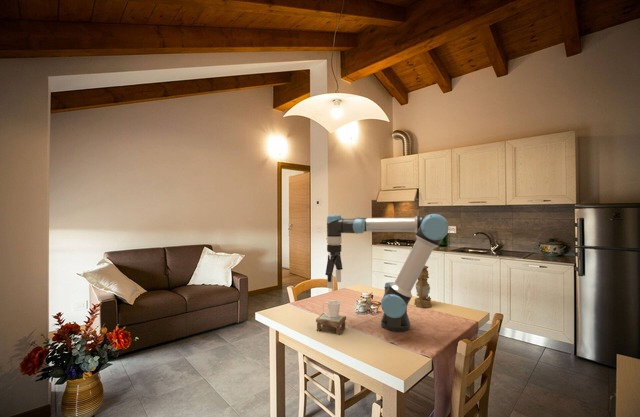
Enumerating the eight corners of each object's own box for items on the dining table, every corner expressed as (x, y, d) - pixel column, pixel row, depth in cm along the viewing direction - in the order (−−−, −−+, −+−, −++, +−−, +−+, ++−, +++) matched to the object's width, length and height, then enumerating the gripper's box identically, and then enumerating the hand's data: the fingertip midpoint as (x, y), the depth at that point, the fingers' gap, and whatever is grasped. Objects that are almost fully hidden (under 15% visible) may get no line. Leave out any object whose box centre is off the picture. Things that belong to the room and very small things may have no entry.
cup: (337, 321, 151) (337, 305, 151) (319, 317, 156) (319, 302, 156) (342, 316, 158) (342, 301, 158) (325, 313, 162) (325, 298, 162)
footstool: (346, 327, 159) (346, 316, 159) (340, 335, 149) (340, 323, 149) (323, 324, 164) (323, 312, 164) (315, 330, 154) (316, 319, 154)
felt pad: (343, 316, 158) (343, 316, 158) (338, 322, 151) (338, 321, 151) (324, 313, 162) (324, 313, 162) (318, 318, 155) (318, 318, 155)
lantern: (432, 310, 187) (432, 261, 187) (414, 308, 190) (415, 260, 190) (430, 302, 202) (430, 257, 202) (413, 301, 205) (414, 257, 205)
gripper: (334, 241, 171) (335, 278, 171) (318, 246, 148) (319, 290, 148) (347, 242, 168) (347, 280, 168) (333, 247, 145) (333, 291, 145)
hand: (334, 284), depth 158 cm, fingers open, 13 cm apart
